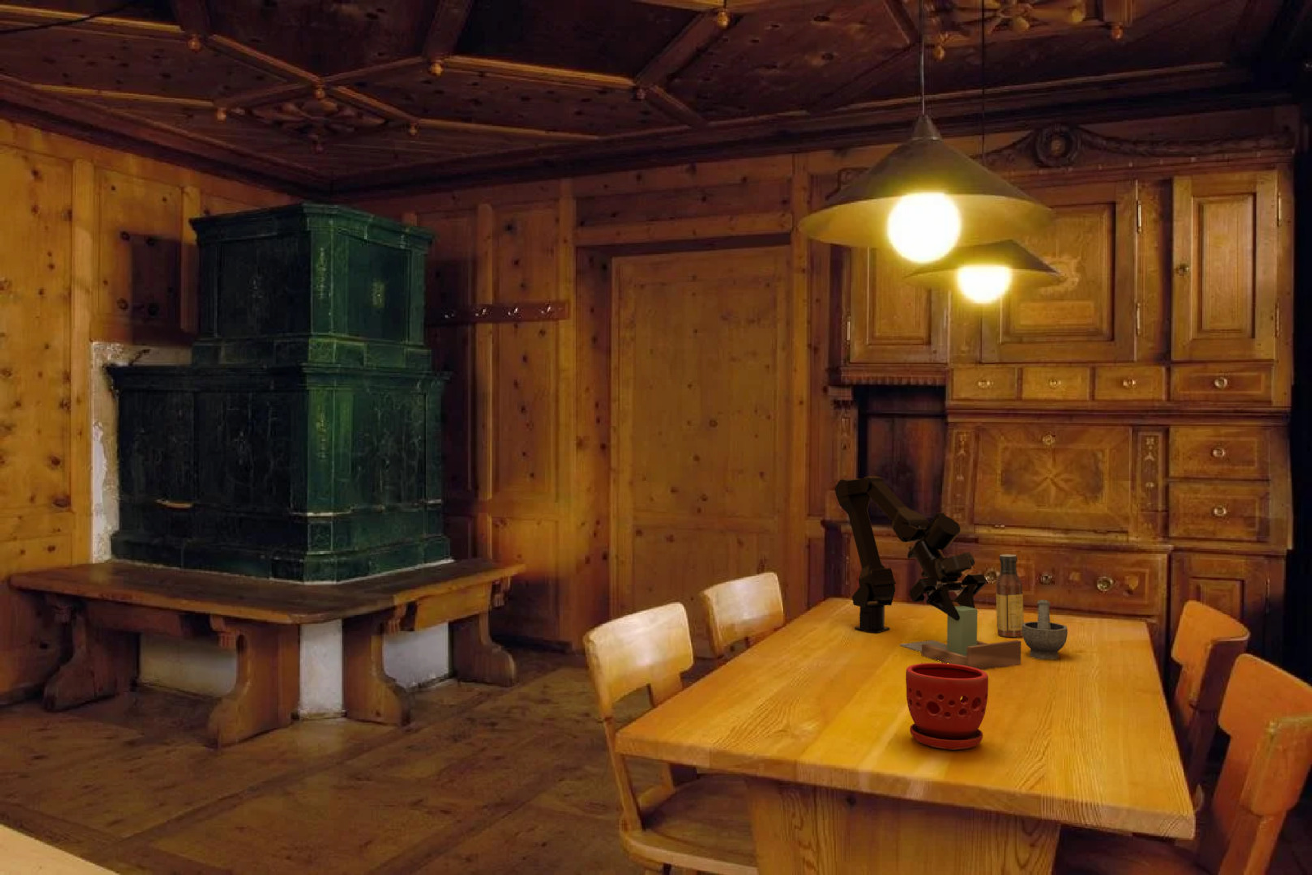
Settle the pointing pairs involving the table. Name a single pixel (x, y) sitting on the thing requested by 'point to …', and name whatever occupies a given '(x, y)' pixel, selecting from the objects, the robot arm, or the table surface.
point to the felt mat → (918, 645)
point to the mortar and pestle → (1044, 634)
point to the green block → (962, 630)
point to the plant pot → (946, 704)
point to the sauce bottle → (1009, 598)
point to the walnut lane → (979, 655)
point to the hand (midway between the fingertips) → (966, 618)
